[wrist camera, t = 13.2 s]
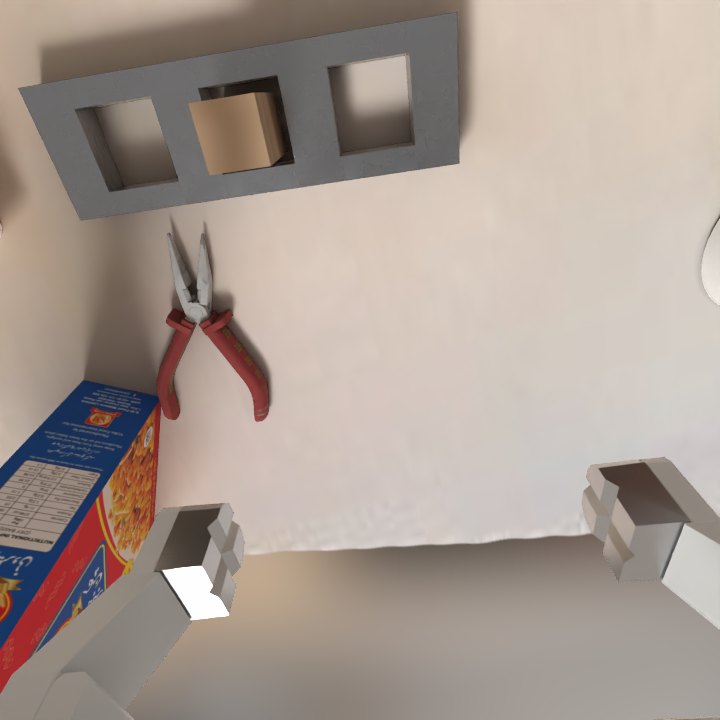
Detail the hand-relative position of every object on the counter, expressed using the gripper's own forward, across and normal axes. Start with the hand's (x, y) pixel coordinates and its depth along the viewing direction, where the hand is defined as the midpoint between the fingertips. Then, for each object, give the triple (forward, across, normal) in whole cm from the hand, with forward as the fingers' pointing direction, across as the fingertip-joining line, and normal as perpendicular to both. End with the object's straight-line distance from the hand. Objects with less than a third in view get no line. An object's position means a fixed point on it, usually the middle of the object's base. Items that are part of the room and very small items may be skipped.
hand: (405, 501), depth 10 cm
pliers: (+32, +16, +11) cm, 38 cm away
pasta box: (+31, +34, +28) cm, 54 cm away
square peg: (+31, +8, -7) cm, 33 cm away
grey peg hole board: (+31, +8, -7) cm, 33 cm away
